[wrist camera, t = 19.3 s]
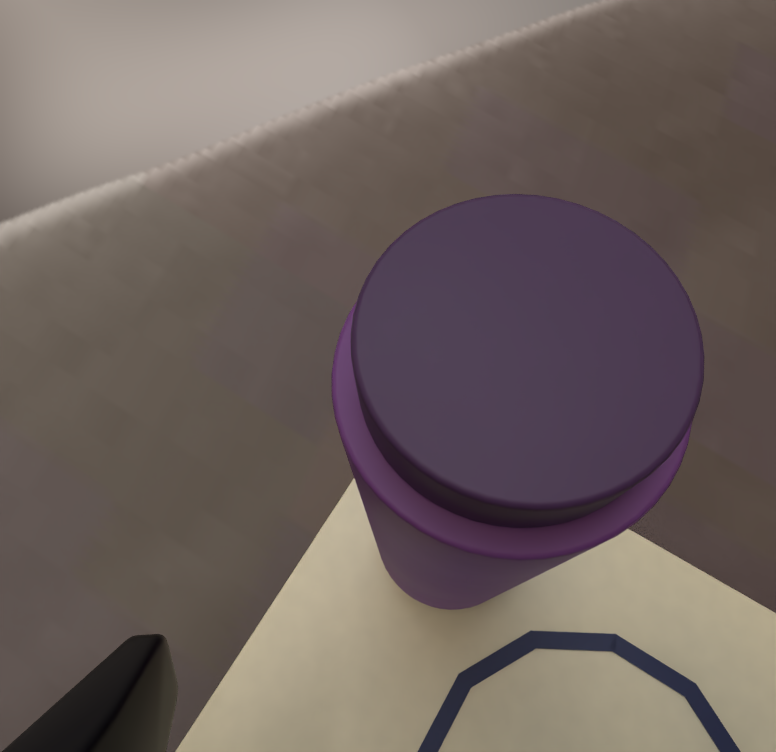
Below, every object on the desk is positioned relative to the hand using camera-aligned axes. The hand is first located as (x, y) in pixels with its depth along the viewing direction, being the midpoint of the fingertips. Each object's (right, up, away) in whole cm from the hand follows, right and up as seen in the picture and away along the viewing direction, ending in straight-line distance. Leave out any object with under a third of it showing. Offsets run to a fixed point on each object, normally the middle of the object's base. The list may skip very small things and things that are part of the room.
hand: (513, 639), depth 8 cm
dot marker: (0, -1, +10) cm, 10 cm away
